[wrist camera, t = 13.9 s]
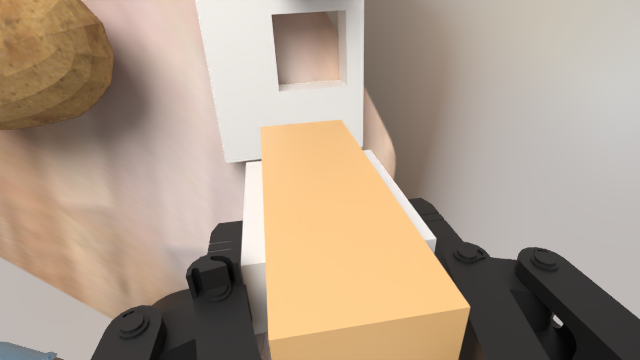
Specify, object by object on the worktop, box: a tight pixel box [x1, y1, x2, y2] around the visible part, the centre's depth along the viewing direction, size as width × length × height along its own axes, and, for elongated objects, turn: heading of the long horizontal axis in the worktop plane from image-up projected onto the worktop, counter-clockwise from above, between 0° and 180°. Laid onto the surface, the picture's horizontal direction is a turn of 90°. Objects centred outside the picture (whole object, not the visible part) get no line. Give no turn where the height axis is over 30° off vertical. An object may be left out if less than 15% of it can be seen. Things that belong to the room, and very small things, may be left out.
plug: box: [260, 120, 470, 360], centre depth 13 cm, size 4×4×12 cm
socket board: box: [195, 0, 364, 163], centre depth 30 cm, size 18×13×3 cm
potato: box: [0, 0, 114, 130], centre depth 25 cm, size 10×14×8 cm
